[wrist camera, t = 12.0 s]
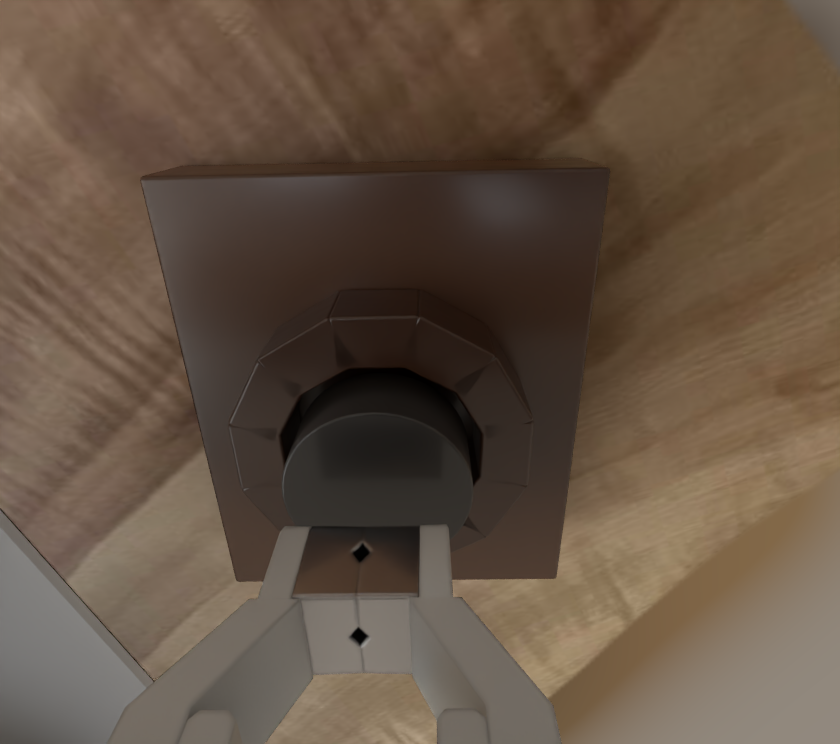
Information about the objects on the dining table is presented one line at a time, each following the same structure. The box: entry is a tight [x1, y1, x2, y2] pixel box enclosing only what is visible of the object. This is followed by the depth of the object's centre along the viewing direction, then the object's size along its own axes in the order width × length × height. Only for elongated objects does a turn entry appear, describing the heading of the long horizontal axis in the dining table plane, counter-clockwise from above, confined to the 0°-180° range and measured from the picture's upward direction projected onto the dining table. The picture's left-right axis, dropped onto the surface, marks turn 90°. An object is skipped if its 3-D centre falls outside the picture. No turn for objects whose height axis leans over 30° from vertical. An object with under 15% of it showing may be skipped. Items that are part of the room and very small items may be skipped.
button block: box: [140, 158, 610, 582], centre depth 14 cm, size 12×10×4 cm
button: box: [281, 373, 474, 541], centre depth 12 cm, size 4×4×2 cm
